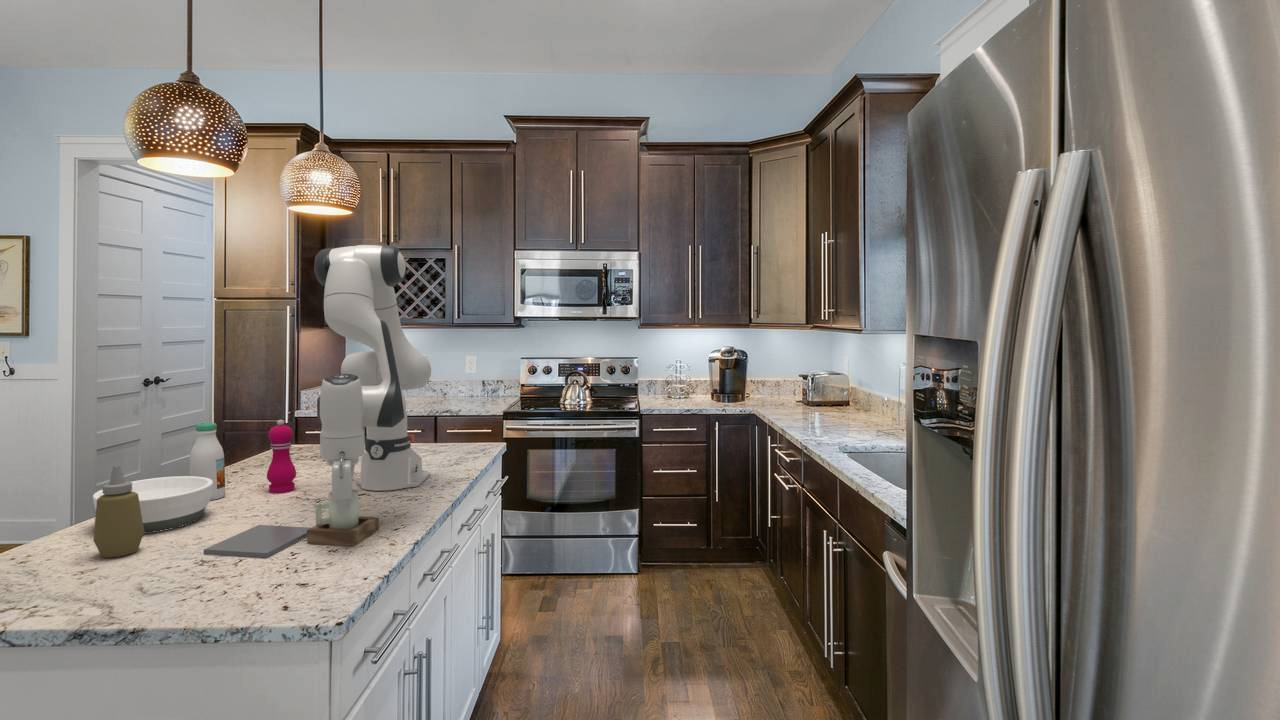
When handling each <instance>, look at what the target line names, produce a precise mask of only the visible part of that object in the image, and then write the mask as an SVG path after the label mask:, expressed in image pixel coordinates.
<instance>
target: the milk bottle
mask: <svg viewBox="0 0 1280 720" xmlns="http://www.w3.org/2000/svg"><path fill="white" fill-rule="evenodd" d="M217 426H218V425H217V423H215V422H203V423H197V424H196V425H195V433H196V439H195V442H194V444H193V446H192V448H191V451H190V453H189V476H196V477H205V478H209V479H211V480H212V481H213V487H212V495H211V498H210V500H209V501H215V500H218V499H219V500H220V499H222V498H224V497H225V495H226V471H225V470H226V469H225V467H226V466H225V453H224V449H223V446H222V445H221V444H220V443H221V442H220V441H219V440H218V438H217V433H216V432H217V430H218V429H217Z"/></svg>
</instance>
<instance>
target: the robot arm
mask: <svg viewBox="0 0 1280 720" xmlns="http://www.w3.org/2000/svg"><path fill="white" fill-rule="evenodd" d="M313 263H314V264H313V265H314V266H313V269H314V273H315V277H316V280H317V282H319V284H320V285H321V286H323V287H324V292H323V312H324V313H323V314H324V315H323V316H324V321H325V323H326V324H327V326H328V327H329V328H330V329H331V330H332V331H333V332H335V333H336V334H338V335H340V336H342V337H344V338H346V339H348V340H351V341H355V342H356V343H357V342H358V343H360V344H362V345H365V346H367V347H369V348H370V349H372V350H373V351H370V350H366V351H365V350H364V351H359V352H353V353H349V354H347V355H346V356H345V358H344V359H343V361H342V363H341V366H340V373H334V374H330V375H328V376H326V377H324V378H323V379H322V383H321V389H320V395H319V396H318V397H317V400H316V410H317V411H316V415H317V416H316V417H317V420H318V421H320V423H321V431H320V434H319V439H320V440H319V441H320V442H319V445H320V446H319V447H320V448H319V449H320V458H321V459H322V460H326V465H327V466H329V467H331V492H332V498H333V500H334V501H337V503H338V514H339V515H340V516H343V515H347V514H348V499H351V495H352V489H353V485H354V474H355V466H356V464H358V463H359V460H360V459H359V458H361V463H360V476H359V477H360V478H359V479H357V480H356V485H358V486H360V488H361V489H363V490H366V491H367V490H368V491H376V492H379V491H382V492H383V491H394V490H401V489H406V488H407V489H408V488H417V487H419V486H421V484H422V483H424V481H426V480H427V478H429V477H430V476H431V471H428V470H425V469H423V459H422V457H421V456H420V455H419V454H418V453H416V451H414V450H413V449H412V444H411V442H414V441H415V435H414V434H408V412H407V401H406V396H405V394H404V391H409V390H416V389H421V388H424V387H425V386H426V385H427V383H429V380H430V379H431V376H432V366H431V363H430V361H429V358H427V357H426V355H424V354H423V353H421V352H420V351H418V350H417V349H416V348H415V347H414V346H413V345H412V344H411V342H410V341H409V339H408V338H407V337H406V335H405V333H404V330H403V328H402V323H401V318H400V315H399V308H398V302H397V297H396V296H397V295H396V292H395V288H394V287H395V286H396V285H398V284H400V283H401V281H403V279H404V278H405V273H406V269H407V268H406V261H405V258H404V256H403V252H402V251H401V250H400V249H399V248H398V247H397V246H394V245H390V244H389V245H388V244H383V245H376V244H358V245H349V246H342V247H328V248H324V249H323V248H322V249H321V250H320V251H318V253H317V254H316V255H315V257H314V262H313ZM364 428H366V436H365V430H364Z"/></svg>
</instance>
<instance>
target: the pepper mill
mask: <svg viewBox="0 0 1280 720" xmlns="http://www.w3.org/2000/svg"><path fill="white" fill-rule="evenodd" d="M293 436H294V432H293V429H292V428H291V427H290V426H289V425H285V422H284V419H279V420H277V421H276V425H275V426H273V427H271V428H270V429H269V431H268V435H267V437H268V439H269V441H271V443H270V449H271V450H272V458H271V462H270V464H269V467H268V469H267V471H266V480H267V481H268V482H269V483H270V484H269V485H268V491H269V493H272V494H284V493H289V492H293V491H294V490H295V489H296V487H295V482H293V481H294V480H295V479H296V477H297V469H296V468H295V467H296V466H295V465H294V463H293V461H292V459H291V455H290V453H291V452H290V450H291V449H290V448H291V447H292V442H291V440H292V438H293Z"/></svg>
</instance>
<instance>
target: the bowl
mask: <svg viewBox="0 0 1280 720" xmlns="http://www.w3.org/2000/svg"><path fill="white" fill-rule="evenodd" d="M131 482H132V491H133V492H135V493H137V494H138V497H139V503H140V509H141V515H142V521H143V527H144V532H152V533H154V532H153V531H159V532H161V531H160V530H164V531H166V530H165V529H169V530H171V529H170V528H174V529H176V528H175V527H178V528H180V527H179V526H181V527H183V526H182V525H185V524H188V523H190V524H192V523H191V522H193V521H195V520H196V521H198V520H199V519H200V518H201V517H202V515H203V513H204V512H205V510H206V508H207V507H208V505H209V502H210V501H211V500H210V498H211V495H212V487H213V481H212V480H211V479H209V478H205V477H196V476H190V475H183V476H182V475H178V476H163V477H153V478H146V479H139V480H134V481H131ZM102 495H105V494H103V488H102V489H100V490H98V491H96V492H95V493H94V494H93V495H92V500H93V506H94V510H95V511H96V506H97V499H98V498H99V497H100V496H102ZM200 516H201V517H200ZM197 519H198V520H197ZM196 521H195V522H196ZM193 523H194V522H193ZM188 525H189V524H188ZM185 526H186V525H185Z"/></svg>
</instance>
